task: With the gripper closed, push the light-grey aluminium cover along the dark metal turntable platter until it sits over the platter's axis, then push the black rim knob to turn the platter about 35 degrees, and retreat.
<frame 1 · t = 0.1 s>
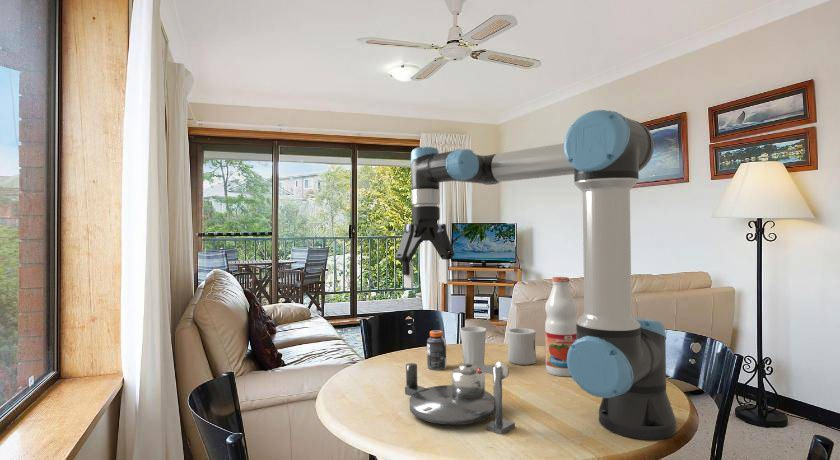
hand: (426, 285, 126), 28 cm above the table, fingers open, 13 cm apart
mug: (521, 361, 153), on the table
cup: (473, 368, 145), on the table
cover: (468, 392, 114), point 3 cm above the table, touching turntable
fruit juice: (562, 372, 139), on the table
turntable: (444, 388, 112), point 5 cm above the table, hinge at 0.0°, touching cover
indicator: (498, 427, 101), on the table
pill bottle: (436, 368, 146), on the table
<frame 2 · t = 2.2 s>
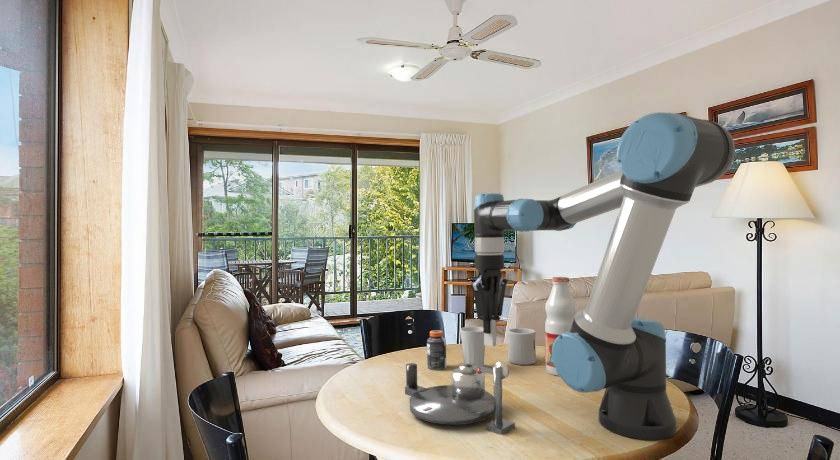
hand: (490, 345, 122), 13 cm above the table, fingers closed
nothing on the table moved.
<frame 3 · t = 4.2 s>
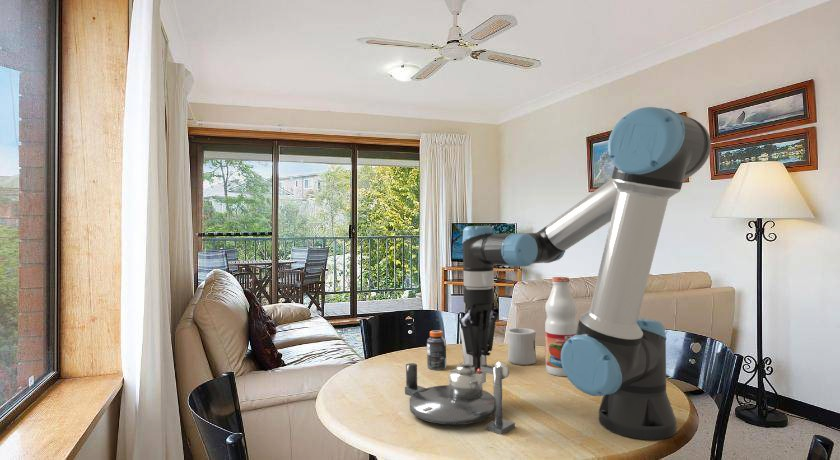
hand: (480, 381, 118), 5 cm above the table, fingers closed
cover: (466, 393, 114), point 3 cm above the table, touching gripper
turntable: (444, 388, 112), point 5 cm above the table, hinge at 0.1°
everything else where it was.
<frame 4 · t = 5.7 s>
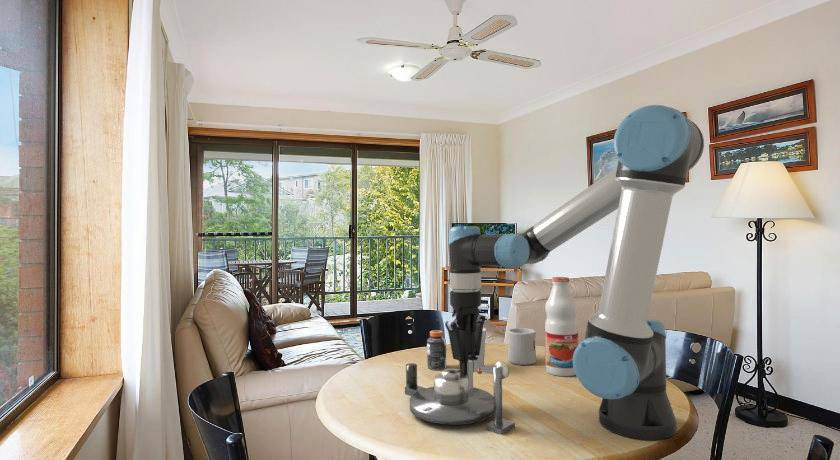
hand: (467, 387, 114), 4 cm above the table, fingers closed
cover: (451, 399, 110), point 3 cm above the table, touching gripper, turntable
turntable: (444, 388, 112), point 5 cm above the table, hinge at 0.2°, touching cover
everything else where it was.
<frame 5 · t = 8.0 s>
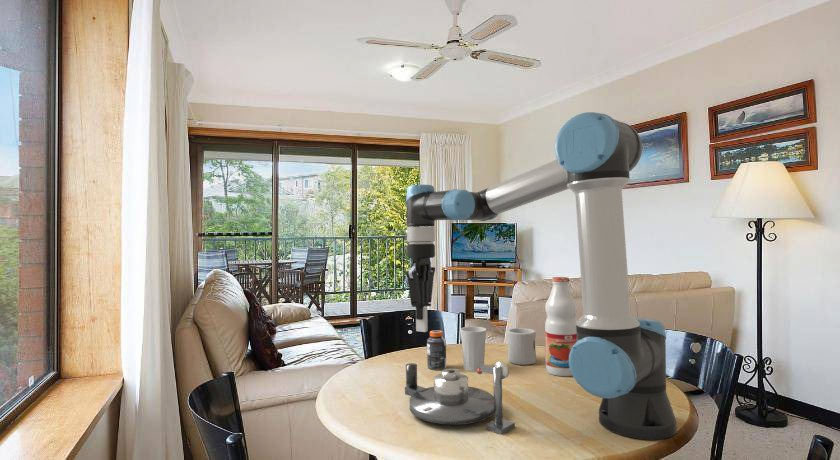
hand: (421, 330, 126), 16 cm above the table, fingers closed
cover: (451, 399, 110), point 3 cm above the table, touching turntable
everything else where it was.
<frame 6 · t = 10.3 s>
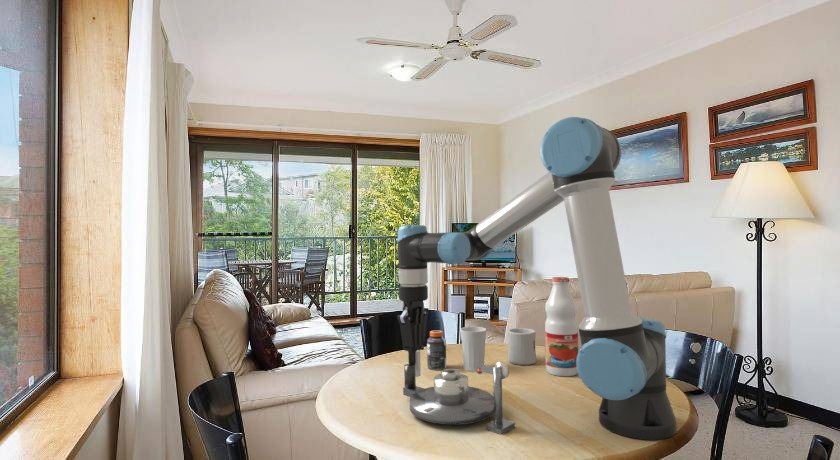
hand: (414, 375, 122), 5 cm above the table, fingers closed
turntable: (443, 389, 112), point 5 cm above the table, hinge at 2.7°, touching cover, gripper
everything else where it was.
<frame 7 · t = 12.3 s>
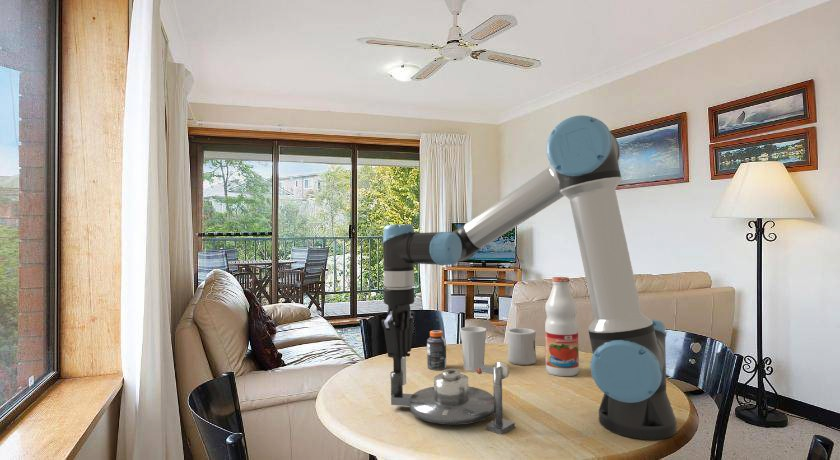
hand: (399, 383, 115), 5 cm above the table, fingers closed
turntable: (441, 390, 111), point 5 cm above the table, hinge at 30.9°, touching cover, gripper
everything else where it was.
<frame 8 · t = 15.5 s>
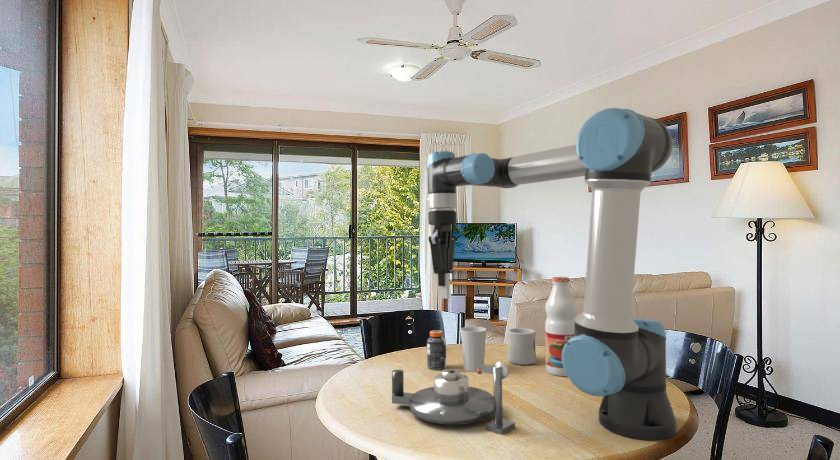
hand: (443, 297, 127), 24 cm above the table, fingers closed
turntable: (441, 390, 111), point 5 cm above the table, hinge at 27.3°, touching cover
everything else where it was.
at the end: cover 0.2 cm from the turntable (horizontally); turntable at +27° (first picture: +0°); cover tilted 0° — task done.
